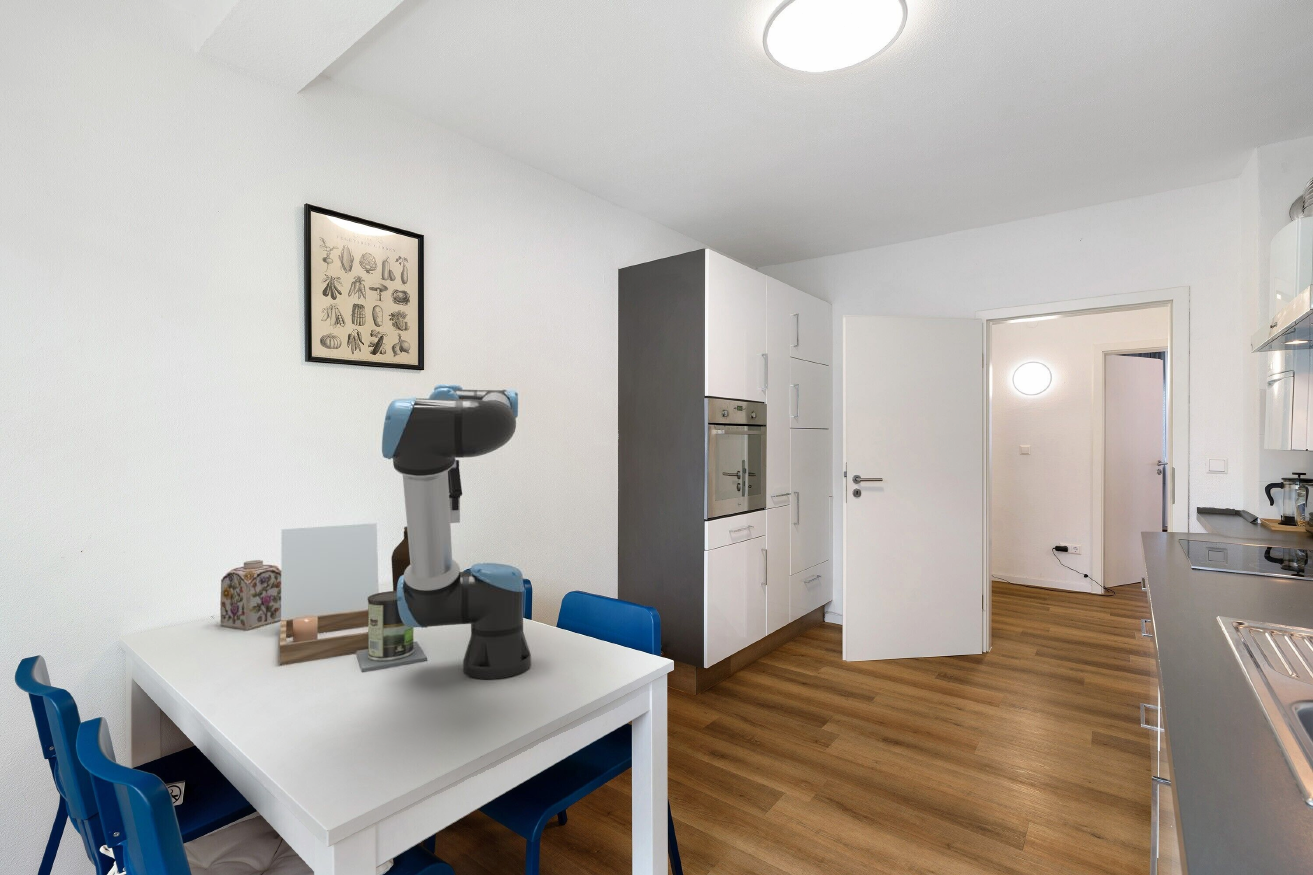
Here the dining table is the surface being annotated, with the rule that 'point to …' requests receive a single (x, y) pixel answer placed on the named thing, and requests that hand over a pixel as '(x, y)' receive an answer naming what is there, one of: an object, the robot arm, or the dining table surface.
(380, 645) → the coffee can
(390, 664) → the plate
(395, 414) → the robot arm
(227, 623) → the decorative jar
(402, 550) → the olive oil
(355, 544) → the pale grey square panel
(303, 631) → the pink pillar candle
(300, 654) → the open wooden box
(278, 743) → the dining table surface
